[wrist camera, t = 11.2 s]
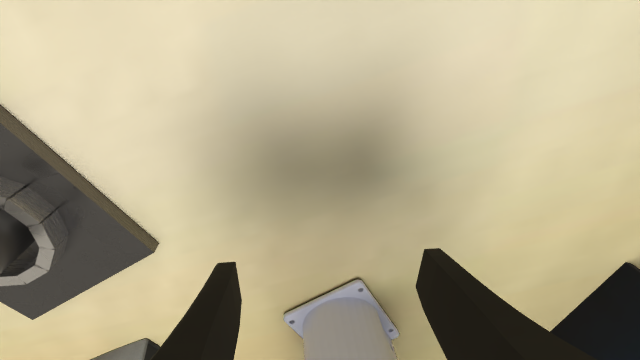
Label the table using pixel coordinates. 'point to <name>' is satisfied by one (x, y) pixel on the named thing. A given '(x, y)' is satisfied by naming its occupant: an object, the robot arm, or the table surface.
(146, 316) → the table surface
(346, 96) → the table surface
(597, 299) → the book
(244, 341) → the table surface
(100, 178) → the table surface
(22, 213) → the metal base plate
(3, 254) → the blue-grey cylinder
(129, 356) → the external hard drive
